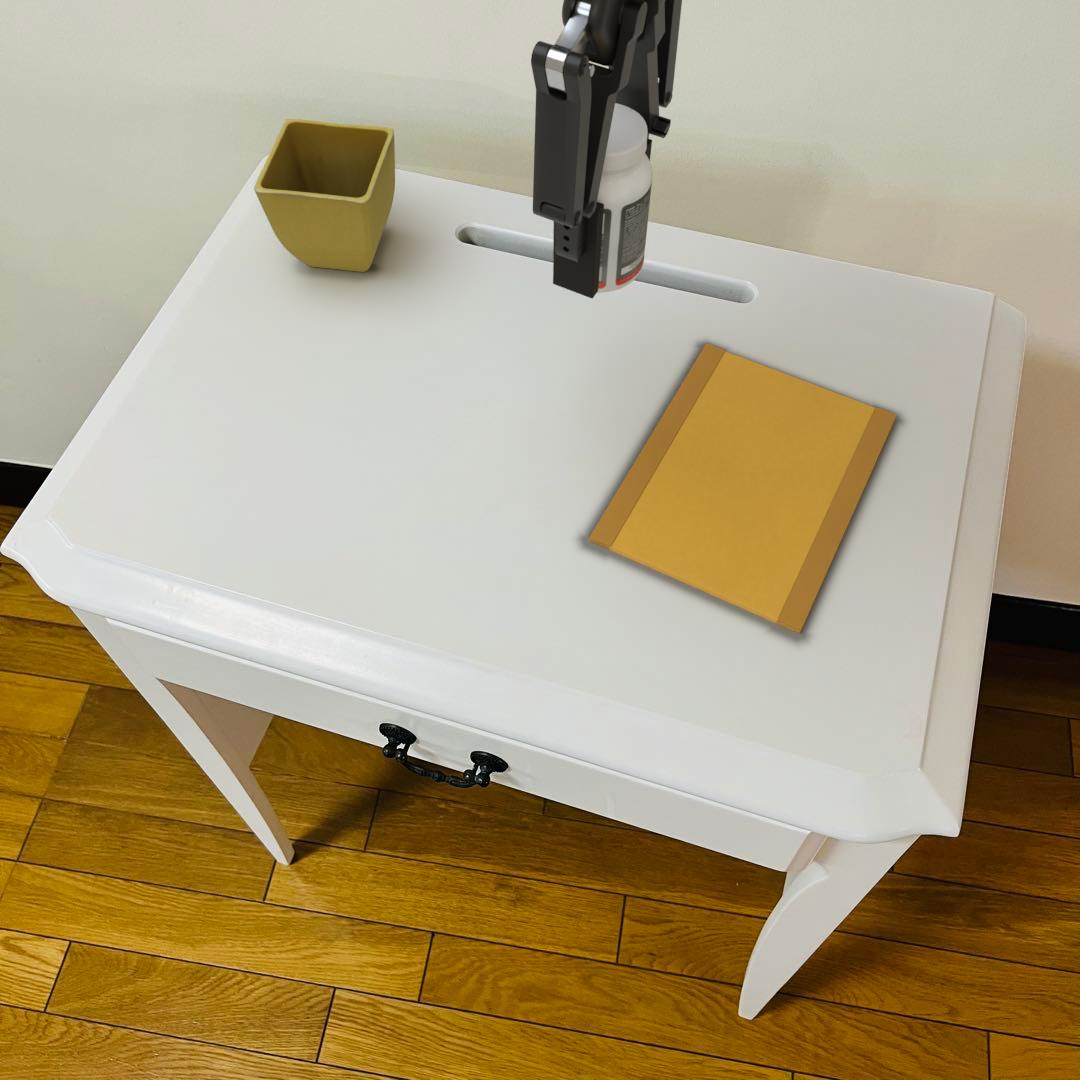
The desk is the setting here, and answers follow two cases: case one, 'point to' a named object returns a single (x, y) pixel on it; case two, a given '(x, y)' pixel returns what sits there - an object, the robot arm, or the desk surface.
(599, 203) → the robot arm
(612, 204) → the pill bottle
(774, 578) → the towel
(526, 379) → the desk surface
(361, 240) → the flower pot
